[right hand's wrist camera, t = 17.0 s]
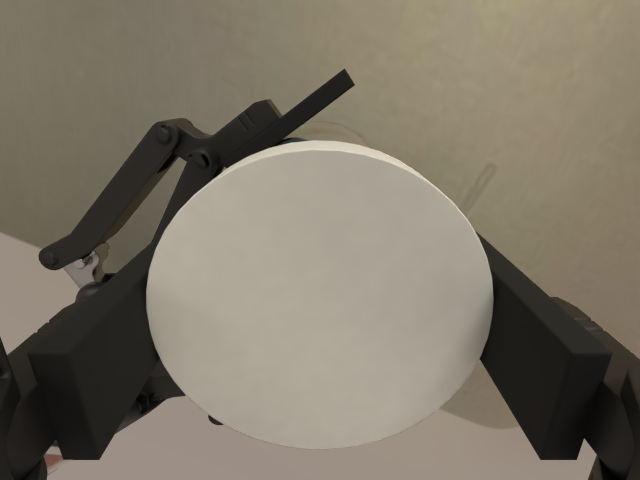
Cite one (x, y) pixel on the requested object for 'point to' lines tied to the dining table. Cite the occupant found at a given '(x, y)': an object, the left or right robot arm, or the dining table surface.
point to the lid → (319, 296)
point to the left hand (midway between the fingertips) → (400, 162)
